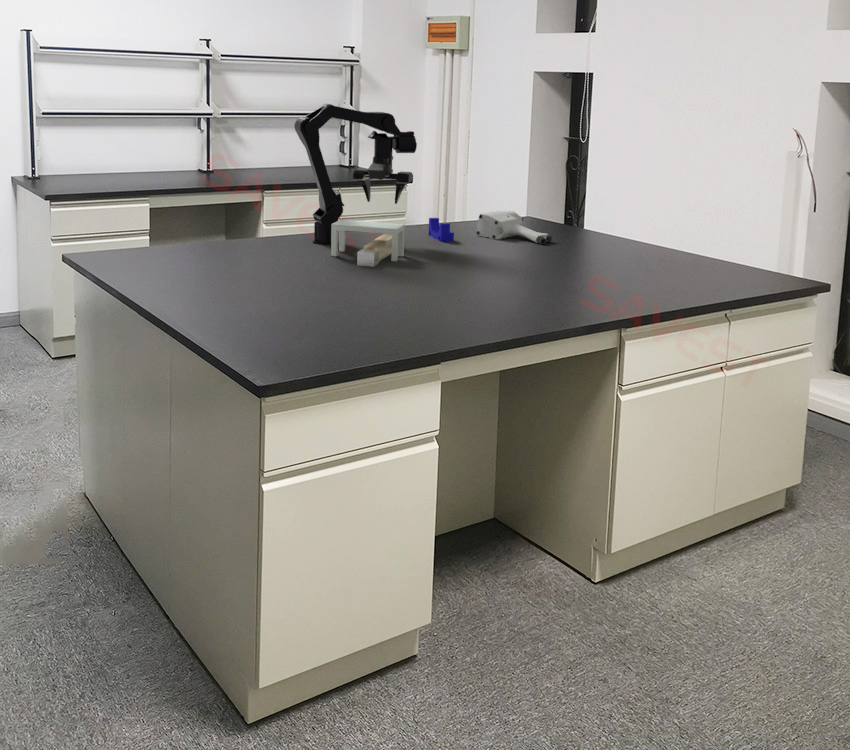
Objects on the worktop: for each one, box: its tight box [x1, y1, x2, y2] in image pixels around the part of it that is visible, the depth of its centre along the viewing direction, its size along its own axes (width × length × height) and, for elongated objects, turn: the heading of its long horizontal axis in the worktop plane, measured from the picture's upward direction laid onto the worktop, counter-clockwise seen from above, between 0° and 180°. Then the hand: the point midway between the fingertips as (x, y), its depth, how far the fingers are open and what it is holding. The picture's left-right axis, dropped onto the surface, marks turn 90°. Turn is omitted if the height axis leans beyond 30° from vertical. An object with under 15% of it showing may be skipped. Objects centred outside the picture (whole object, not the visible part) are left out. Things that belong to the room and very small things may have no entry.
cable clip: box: [428, 217, 455, 243], centre depth 328 cm, size 12×4×6 cm, turn 20°
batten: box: [363, 233, 392, 262], centre depth 298 cm, size 4×25×5 cm, turn 166°
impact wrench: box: [476, 210, 553, 245], centre depth 336 cm, size 8×23×25 cm
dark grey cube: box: [356, 248, 380, 268], centre depth 285 cm, size 5×5×4 cm
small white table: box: [330, 219, 405, 262], centre depth 295 cm, size 20×9×10 cm, turn 77°
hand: (382, 202), depth 318 cm, fingers open, 9 cm apart
